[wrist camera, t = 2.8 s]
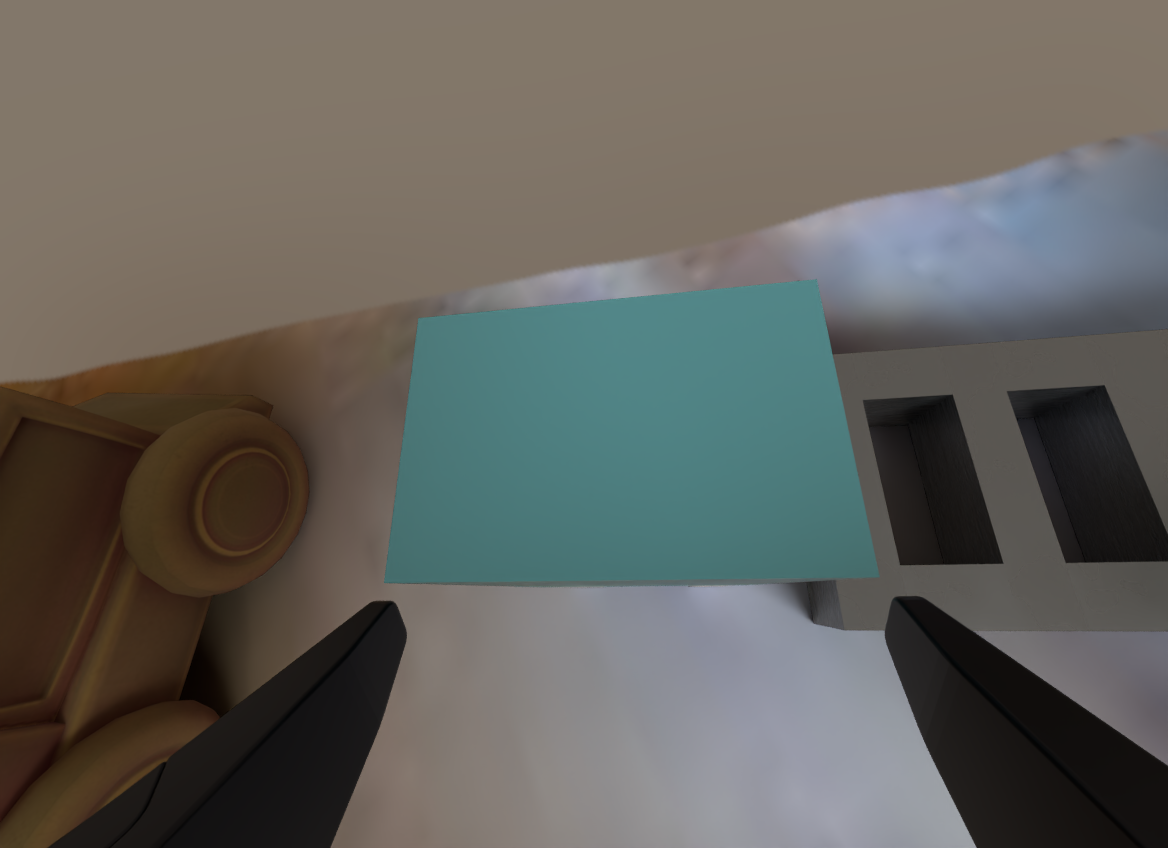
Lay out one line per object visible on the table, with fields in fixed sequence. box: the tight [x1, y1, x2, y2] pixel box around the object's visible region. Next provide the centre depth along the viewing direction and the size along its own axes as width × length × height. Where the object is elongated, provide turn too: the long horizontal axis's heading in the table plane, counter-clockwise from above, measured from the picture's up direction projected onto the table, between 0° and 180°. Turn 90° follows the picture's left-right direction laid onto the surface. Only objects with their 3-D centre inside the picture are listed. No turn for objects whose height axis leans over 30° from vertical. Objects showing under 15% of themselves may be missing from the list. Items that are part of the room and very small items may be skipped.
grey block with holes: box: [807, 329, 1168, 631], centre depth 15 cm, size 9×18×3 cm, turn 91°
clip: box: [384, 279, 880, 588], centre depth 12 cm, size 4×6×13 cm, turn 91°
